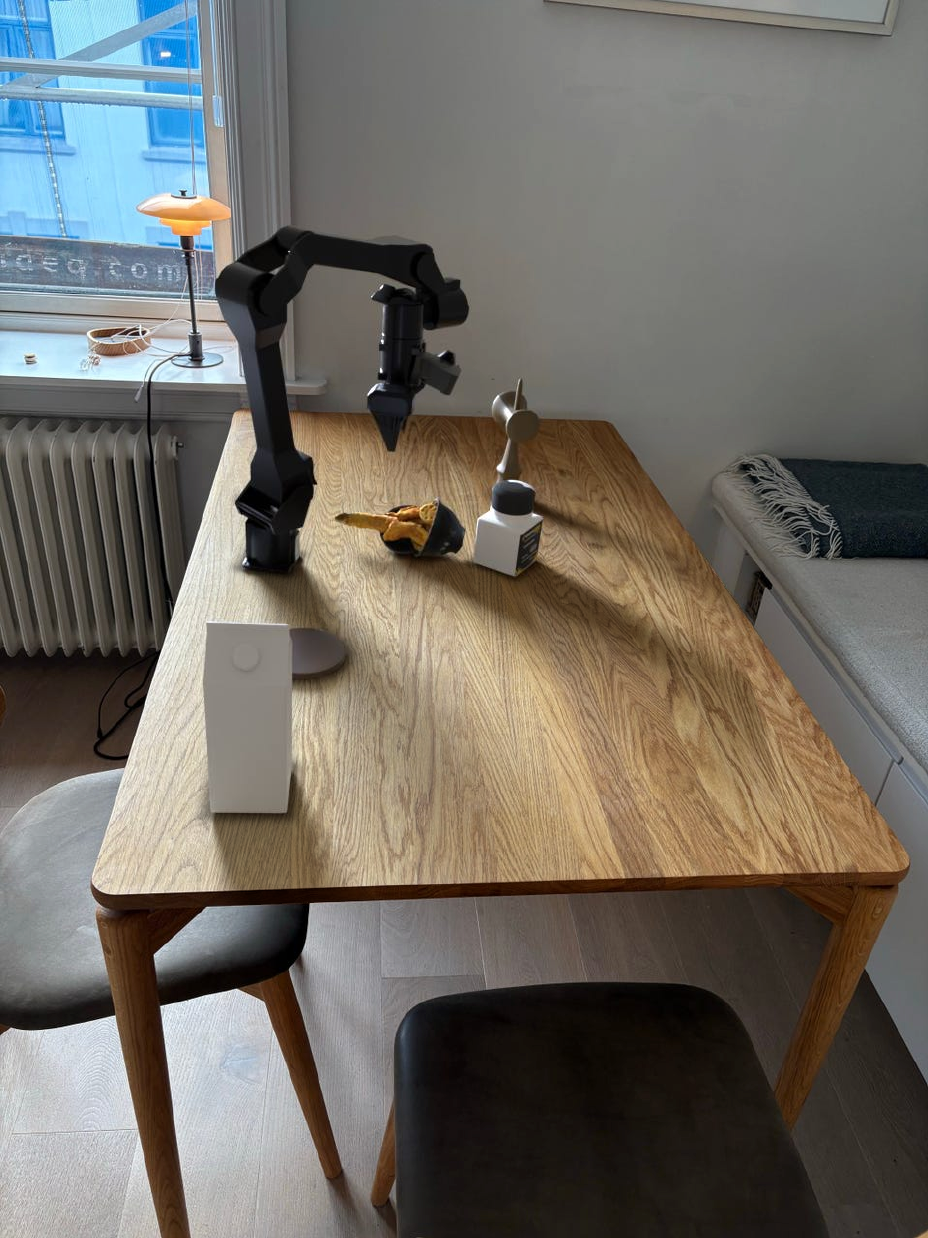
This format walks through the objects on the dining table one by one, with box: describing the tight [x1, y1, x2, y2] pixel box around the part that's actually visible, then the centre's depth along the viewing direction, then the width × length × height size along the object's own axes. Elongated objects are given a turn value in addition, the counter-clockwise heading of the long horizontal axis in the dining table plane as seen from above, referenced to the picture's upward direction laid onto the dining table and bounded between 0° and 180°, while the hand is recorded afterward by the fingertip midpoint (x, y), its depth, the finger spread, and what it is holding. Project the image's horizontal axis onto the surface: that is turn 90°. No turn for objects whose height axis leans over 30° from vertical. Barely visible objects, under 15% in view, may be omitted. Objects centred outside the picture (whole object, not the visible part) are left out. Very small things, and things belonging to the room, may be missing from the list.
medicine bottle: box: [472, 480, 544, 578], centre depth 136 cm, size 7×7×12 cm
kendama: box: [491, 378, 541, 493], centre depth 154 cm, size 6×10×20 cm, turn 12°
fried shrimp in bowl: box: [334, 498, 467, 558], centre depth 136 cm, size 9×11×18 cm
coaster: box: [289, 627, 346, 680], centre depth 113 cm, size 10×10×1 cm
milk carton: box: [202, 620, 293, 814], centre depth 88 cm, size 7×7×19 cm
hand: (396, 440), depth 141 cm, fingers open, 9 cm apart
